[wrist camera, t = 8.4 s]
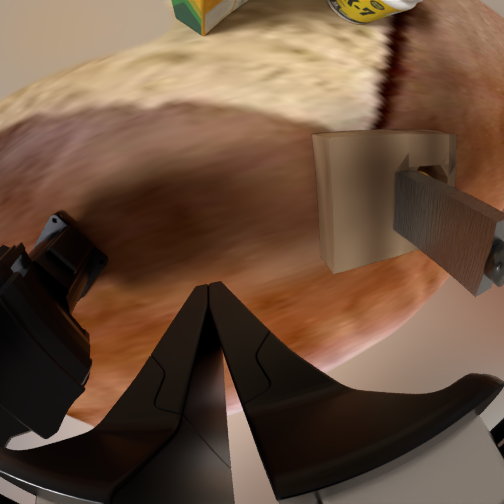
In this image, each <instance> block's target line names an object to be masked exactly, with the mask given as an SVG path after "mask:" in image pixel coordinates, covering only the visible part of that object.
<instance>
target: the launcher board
mask: <svg viewBox="0 0 504 504" xmlns="http://www.w3.org/2000/svg"><path fill="white" fill-rule="evenodd" d="M312 141H313V150H314V160H315V171H316V184H317V197H318V213H319V232H320V257H321V258H322V259H323V261H324V262H325V263H326V264H327V266H328V267H329V268H330V270H331V271H332V272H333V274H336V273H339V272H343V271H347V270H350V269H354V268H357V267H361V266H365V265H368V264H372V263H375V262H378V261H382V260H385V259H389V258H392V257H395V256H399V255H402V254H405V253H409V252H412V251H415V250H418V248H417V247H416V246H414V245H413V244H412V243H411V242H409V241H408V240H407V239H405V238H404V237H403V236H401V235H400V234H399V233H397V232H396V231H395V230H393V223H394V208H395V182H396V172H399V171H408V170H415V171H417V169H418V168H419V166H426V167H427V169H428V172H427V174H428V175H429V176H430V177H432V178H434V179H437V180H439V181H441V182H444V183H446V184H448V185H450V186H452V187H454V188H455V179H456V164H457V135H455V134H451V133H447V132H443V131H438V130H421V129H384V130H358V131H342V132H329V133H318V134H312Z"/></svg>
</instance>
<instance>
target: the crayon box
mask: <svg viewBox="0 0 504 504" xmlns="http://www.w3.org/2000/svg"><path fill="white" fill-rule="evenodd" d="M171 1H172V5H173V8H174V12H175V16H176V18H177V19H178V20H180V21H181V22H183V23H184V24H186V25H187V26H189V27H190V28H191V29H193V30H194V31H196V32H197V33H199V34H200V35H202V36H204V35H206V34H207V33H208V32H209V31H210V30H211V29H212V28H213V27H214V26H216V25H217V24H218V23H219V22H220V21H222V20H223V19H224V18H225V17H226V16H228V15H229V14H230V13H231V12H233V11H234V10H235V9H237V8H238V7H239V6H241V5H242V4H243V3H245V2H246V1H248V0H171Z"/></svg>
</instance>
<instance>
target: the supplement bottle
mask: <svg viewBox="0 0 504 504" xmlns="http://www.w3.org/2000/svg"><path fill="white" fill-rule="evenodd" d="M421 1H423V0H327V2H328V4H329V5H330V7H331V8H332V10H333V11H334V12H335V13H336V14H338V15H339V16H340V17H341V18H343V19H344V20H346V21H348V22H351V23H354V24H366V23H369V22H372V21H375V20H378V19H381V18H384V17H387V16H390V15H393V14H396V13H399V12H403V11H406V10H409V9H412V8H413V7H414V6H415V5H416V4H417V2H421Z"/></svg>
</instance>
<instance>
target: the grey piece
mask: <svg viewBox="0 0 504 504" xmlns="http://www.w3.org/2000/svg"><path fill="white" fill-rule="evenodd" d="M393 230H395V231H396V232H397V233H399V234H400V235H401V236H403V237H404V238H405V239H407V240H408V241H409V242H411V243H412V244H413V245H414V246H416V247H417V248H418V249H420V250H421V251H422V252H423V253H425V254H426V255H427V256H428V257H430V258H431V259H432V260H433V261H435V262H436V263H437V264H438V265H439V266H441V267H442V268H443V269H444V270H445V271H447V272H448V273H449V274H450V275H451V276H453V277H454V278H455V279H456V280H457V281H458V282H459V283H460V284H462V285H463V286H464V287H465V288H466V289H467V290H468V291H469V292H471V293H472V294H473V295H474V296H475V297H476V296H478V295H480V294H481V293H483V292H485V291H486V290H488V289H490V288H491V287H492V284H493V283H495V284H496V285H497V286H498V287H500V286H502V285H503V284H504V213H503V212H501V211H499V210H498V209H496V208H494V207H492V206H490V205H488V204H487V203H485V202H483V201H481V200H479V199H477V198H475V197H473V196H471V195H469V194H467V193H465V192H463V191H461V190H459V189H457V188H454V187H452V186H450V185H448V184H446V183H444V182H441V181H439V180H437V179H434V178H432V177H430V176H427V175H425V174H422V173H420V172H417V171H415V170H408V171H399V172H396V182H395V208H394V223H393Z"/></svg>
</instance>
